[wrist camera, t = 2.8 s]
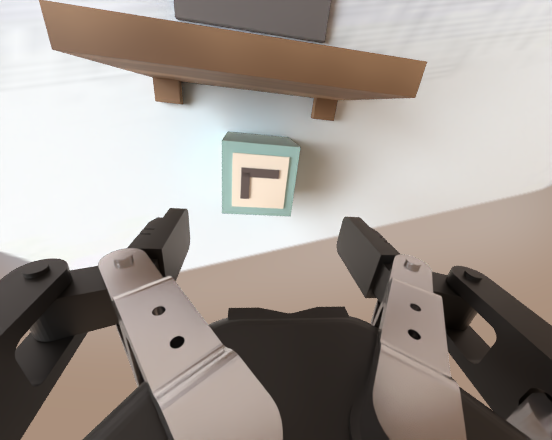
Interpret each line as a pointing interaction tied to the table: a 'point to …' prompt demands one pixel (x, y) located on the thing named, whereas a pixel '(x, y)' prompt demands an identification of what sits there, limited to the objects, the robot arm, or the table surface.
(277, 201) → the letter cube
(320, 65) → the wooden footed board
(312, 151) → the table surface
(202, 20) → the mat
